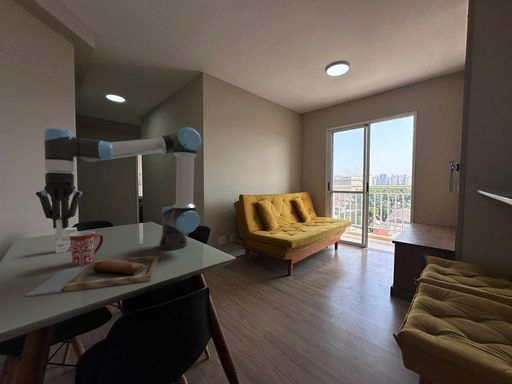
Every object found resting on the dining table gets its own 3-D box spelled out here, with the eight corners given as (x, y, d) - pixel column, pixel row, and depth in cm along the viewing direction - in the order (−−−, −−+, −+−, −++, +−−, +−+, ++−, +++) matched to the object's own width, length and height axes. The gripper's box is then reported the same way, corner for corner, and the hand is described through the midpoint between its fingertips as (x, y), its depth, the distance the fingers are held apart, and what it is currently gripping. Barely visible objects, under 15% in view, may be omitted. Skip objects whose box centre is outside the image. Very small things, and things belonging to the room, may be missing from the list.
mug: (75, 268, 86) (74, 236, 86) (65, 264, 91) (65, 234, 90) (108, 258, 98) (107, 231, 97) (98, 255, 102) (98, 229, 101)
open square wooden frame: (159, 259, 98) (159, 255, 98) (150, 280, 76) (150, 275, 76) (94, 265, 90) (94, 261, 90) (63, 291, 68) (63, 285, 68)
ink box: (77, 247, 114) (76, 226, 114) (77, 249, 111) (77, 228, 110) (55, 251, 108) (55, 229, 108) (55, 253, 105) (54, 230, 104)
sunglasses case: (147, 264, 87) (140, 255, 83) (138, 280, 82) (130, 272, 78) (110, 261, 90) (102, 253, 86) (99, 276, 85) (89, 268, 80)
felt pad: (89, 268, 86) (89, 267, 86) (61, 292, 67) (61, 290, 67) (62, 271, 83) (62, 269, 83) (25, 296, 64) (25, 295, 64)
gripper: (86, 173, 80) (87, 233, 80) (44, 172, 75) (45, 235, 76) (76, 172, 72) (77, 238, 73) (28, 171, 68) (30, 241, 69)
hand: (61, 237), depth 75 cm, fingers closed
